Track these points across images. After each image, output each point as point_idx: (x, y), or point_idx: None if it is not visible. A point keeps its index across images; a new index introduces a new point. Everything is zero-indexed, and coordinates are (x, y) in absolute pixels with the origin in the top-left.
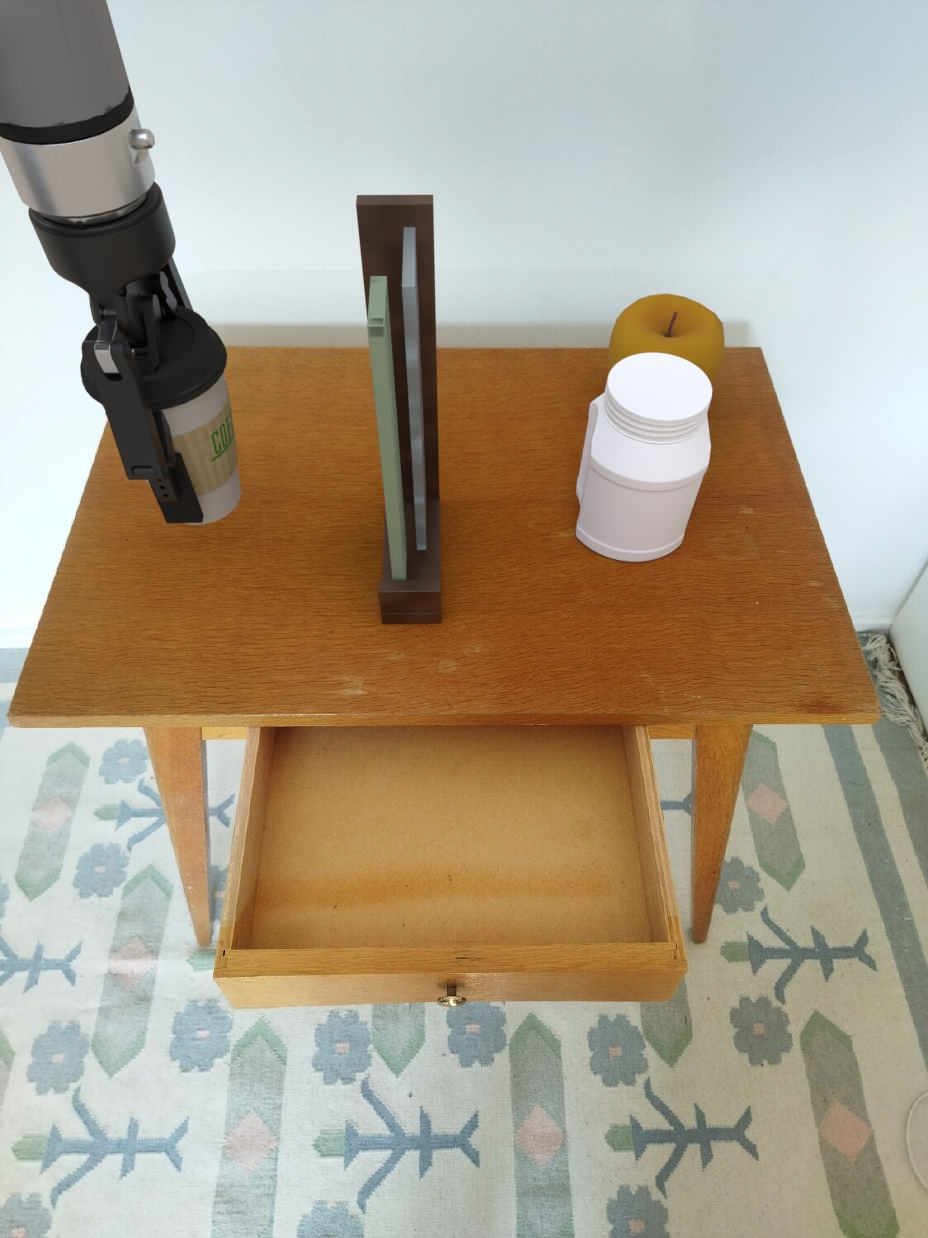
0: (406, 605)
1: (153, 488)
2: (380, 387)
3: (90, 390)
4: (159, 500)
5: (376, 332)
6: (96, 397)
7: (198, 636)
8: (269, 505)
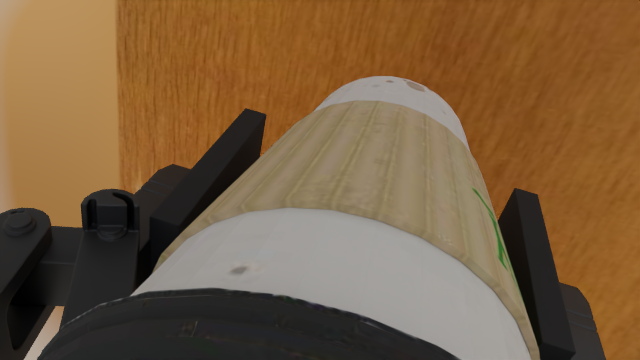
0: None
1: (138, 190)
2: None
3: (84, 337)
4: (167, 167)
5: None
6: (72, 332)
7: (239, 22)
8: (489, 173)
